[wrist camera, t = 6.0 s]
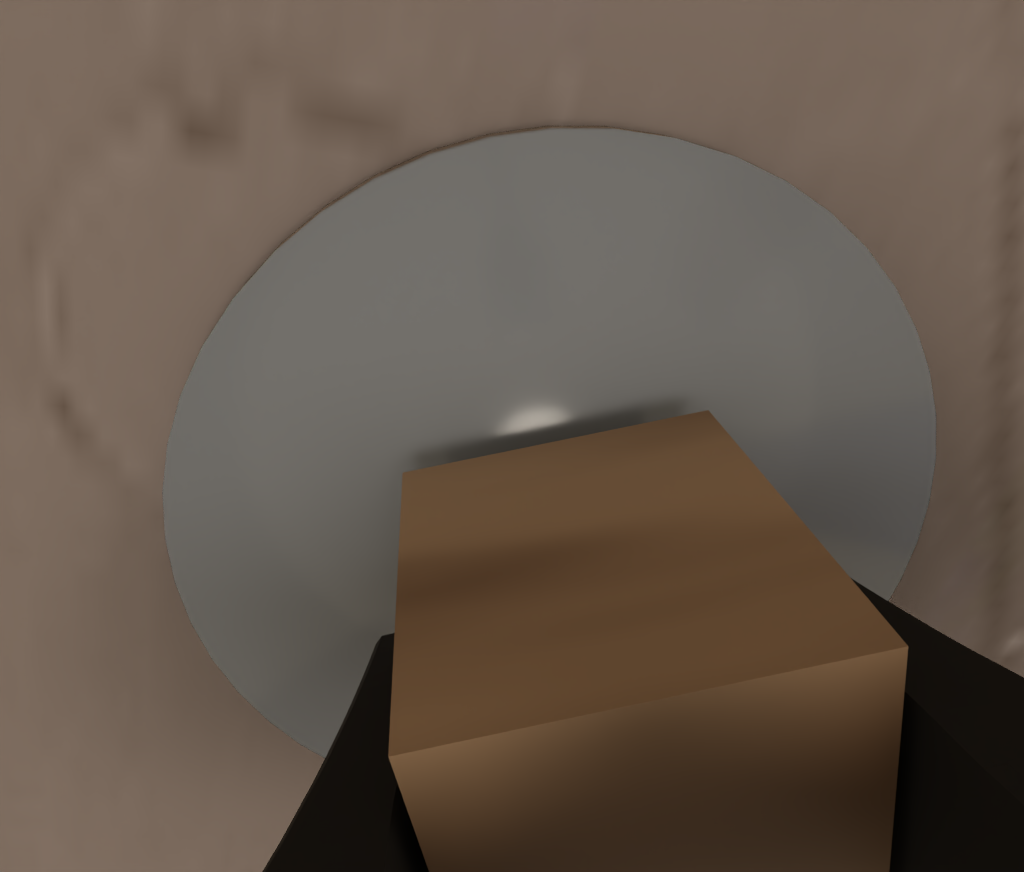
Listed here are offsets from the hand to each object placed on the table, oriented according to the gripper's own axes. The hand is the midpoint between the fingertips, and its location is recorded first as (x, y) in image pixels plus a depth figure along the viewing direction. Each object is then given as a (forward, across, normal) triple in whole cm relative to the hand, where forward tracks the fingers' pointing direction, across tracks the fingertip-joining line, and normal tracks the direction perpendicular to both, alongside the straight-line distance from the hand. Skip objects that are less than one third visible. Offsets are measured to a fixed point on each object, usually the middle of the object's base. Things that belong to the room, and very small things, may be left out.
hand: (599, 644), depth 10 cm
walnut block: (+2, 0, 0) cm, 2 cm away
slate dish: (+3, 0, 0) cm, 3 cm away
